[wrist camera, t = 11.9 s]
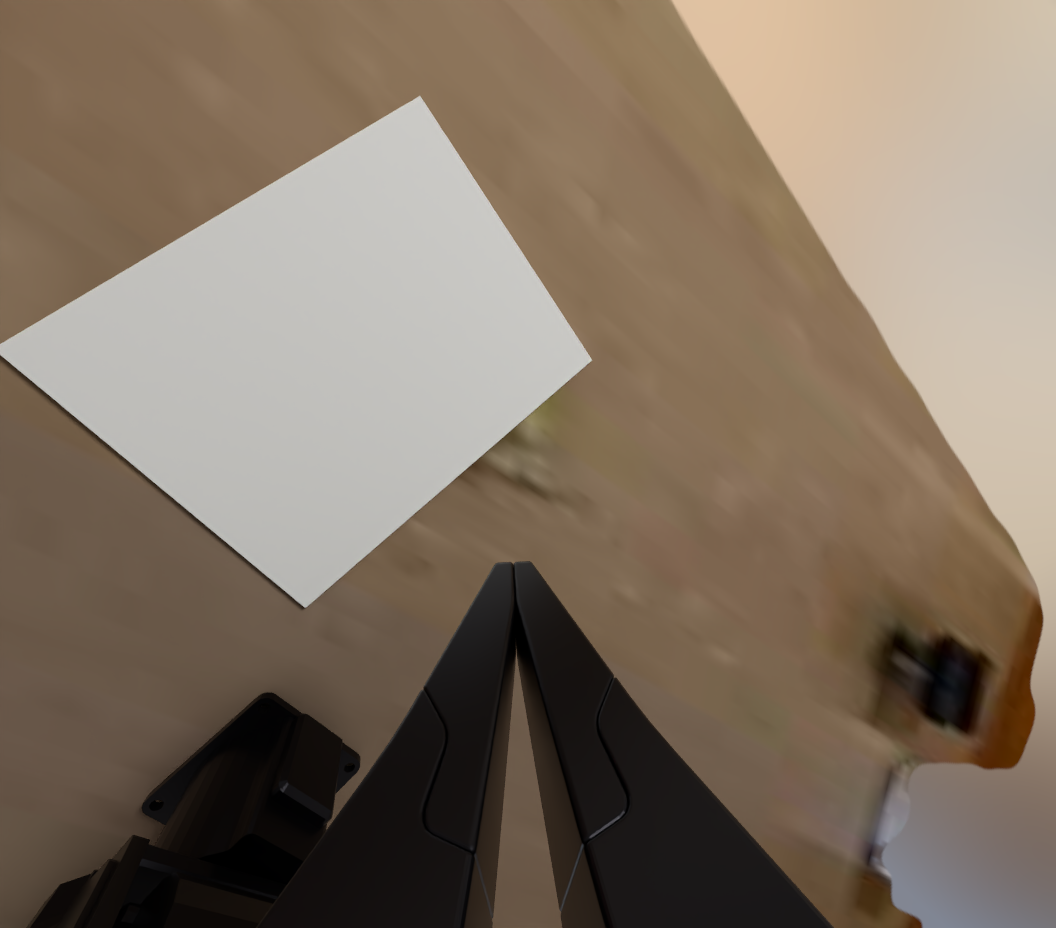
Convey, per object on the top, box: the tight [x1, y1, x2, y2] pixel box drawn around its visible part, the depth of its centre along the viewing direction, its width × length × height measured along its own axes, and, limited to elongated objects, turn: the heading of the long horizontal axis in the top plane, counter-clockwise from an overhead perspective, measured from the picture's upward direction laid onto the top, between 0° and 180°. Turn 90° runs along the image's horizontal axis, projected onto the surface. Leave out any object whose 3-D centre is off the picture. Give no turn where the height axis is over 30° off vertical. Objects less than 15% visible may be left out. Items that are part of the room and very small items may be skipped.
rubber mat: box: [0, 96, 592, 608], centre depth 18 cm, size 20×15×1 cm
